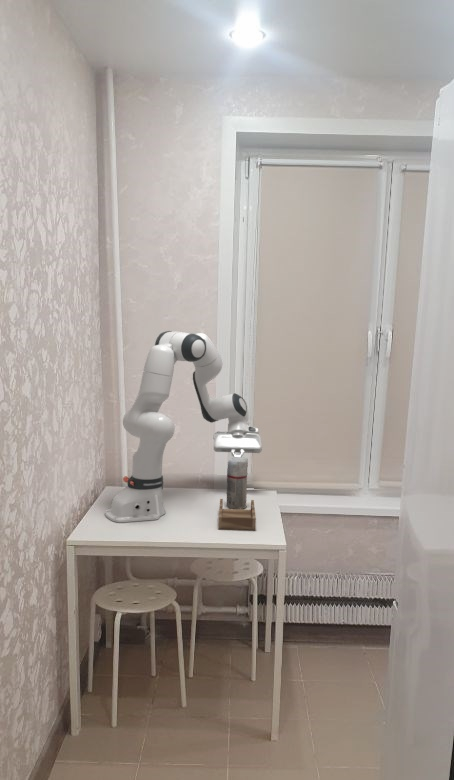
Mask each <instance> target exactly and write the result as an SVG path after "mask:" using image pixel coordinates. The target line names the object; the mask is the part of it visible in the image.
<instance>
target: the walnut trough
mask: <svg viewBox="0 0 454 780" xmlns="http://www.w3.org/2000/svg"><path fill="white" fill-rule="evenodd" d="M223 502H224V499H223V498H220V499H219V508H218V509H219V511H218V524H217V526H218V529H217V530H221V531H248V532H249V531H250V532H252V531H253V532H256V520H257V519H256V510H255V507H256V506H255V500H254V499H250V509H246V508H243V509H231V508H224V507H223V506H224V505H223V504H224V503H223Z"/></svg>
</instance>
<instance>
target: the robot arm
mask: <svg viewBox="0 0 454 780" xmlns="http://www.w3.org/2000/svg"><path fill="white" fill-rule="evenodd" d="M210 338H211V337H209V336H208V335H207V334H205V333H204V332H198V333H196V332H195V333H188V332H184V331H172V330H166V331H163V332H161V333H160V334H159V335H158V336H157V338H156V339H155V343H154V345H153V346H152V347H150V349H149V352H148V354H147V356H146V359H145V363H144V368H143V372H142V378H141V381H140V382H141V383H140V386H139V390H138V393H137V395H136V399H135V400H134V402H133V404H132V405H131V408H130V409H129V410H128V411H126V413H125V414H124V415H123V418H122V425H123V428H124V429H125V431H126V432H127V433H128V434H130V435H131V436H132V437H135V438H138V439H139V444H138V448H137V451H135V452H134V453H133V455H132V466H131V468H132V474H131V476H124V477H123V478H122V480H123V482H125V483H127V486H125V488H124V489H122V490H121V491H120V492H118V493H117V494H116V495H115V496H114V497H113V498H112V501H111V506H110V508H108V509H105V510H104V516H105V517H106V518H107V519H108V520H110V521H112V522H114V523H129V522H143V521H154V520H155V521H157V520H159V519H160V517H162V516H163V515H165V514H166V509H165V505H164V499H163V489H164V476H163V458H164V457H163V456H164V452H165V449H166V445H167V443H168V442H169V441H170V440H171V439H172V438H173V436H174V433H175V429H176V428H175V424H174V421H173V420H172V419H171V418H170V417H168V415H166V414H164V413H162V412H159V411H160V408H161V407H162V404H163V403H164V402H166V400H168V398H169V396H170V392H171V386H172V382H173V378H174V377H173V376H174V371H175V364H176V363H177V362H178V361H179V362H189V363H192V364H193V367H194V371H193V373H192V382H193V386H194V390H195V393H196V395H197V398H198V401H199V407H200V410H201V414H202V415H201V416H202V418H203V419H204V420H205V421H207V422H209V423H212V424H213V423H215V422H218V421H221V420H224V419H225V420H226V419H228V423H227V431H216V432H215V433H213V440H214V442H213V450H214V452H216V453H231V456H232V458H233V457H235V456H239V457H243V456H244V454H245V453H247V454H260V453H262V450H263V444H262V438H261V435H260V434H259V433H260V430H259V428H258V427H254V426H252V425H249V423H248V421H249V408H248V403H247V401H246V400H245V399H244V398H243V397H242V396H241V395H240V394H237V393H236V392H235V393H229V394H225V395H223V396H222V395H221V396H217V397H210V394H209V392H208V388H207V384H208V383H209V382H210V381H212V380H215V378H217V376H219V374H220V372H221V371H222V368H223V359H222V357H221V355H220V352H219V351H218V349H217V347H216V345H215V344H214V342H213V341H212V339H210ZM236 453H239V455H238V454H237V455H236Z"/></svg>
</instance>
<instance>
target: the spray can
mask: <svg viewBox="0 0 454 780" xmlns="http://www.w3.org/2000/svg"><path fill="white" fill-rule="evenodd" d="M248 463H249V460H248V457H243V456H242V457H239V456H235V457H233V456H232V458H231V459H230V460H228V462H227V472H226V507H227V509H246V508H247V492H248V490H247V489H248V487H247V485H248V474H249V473H248V466H249V464H248Z"/></svg>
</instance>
